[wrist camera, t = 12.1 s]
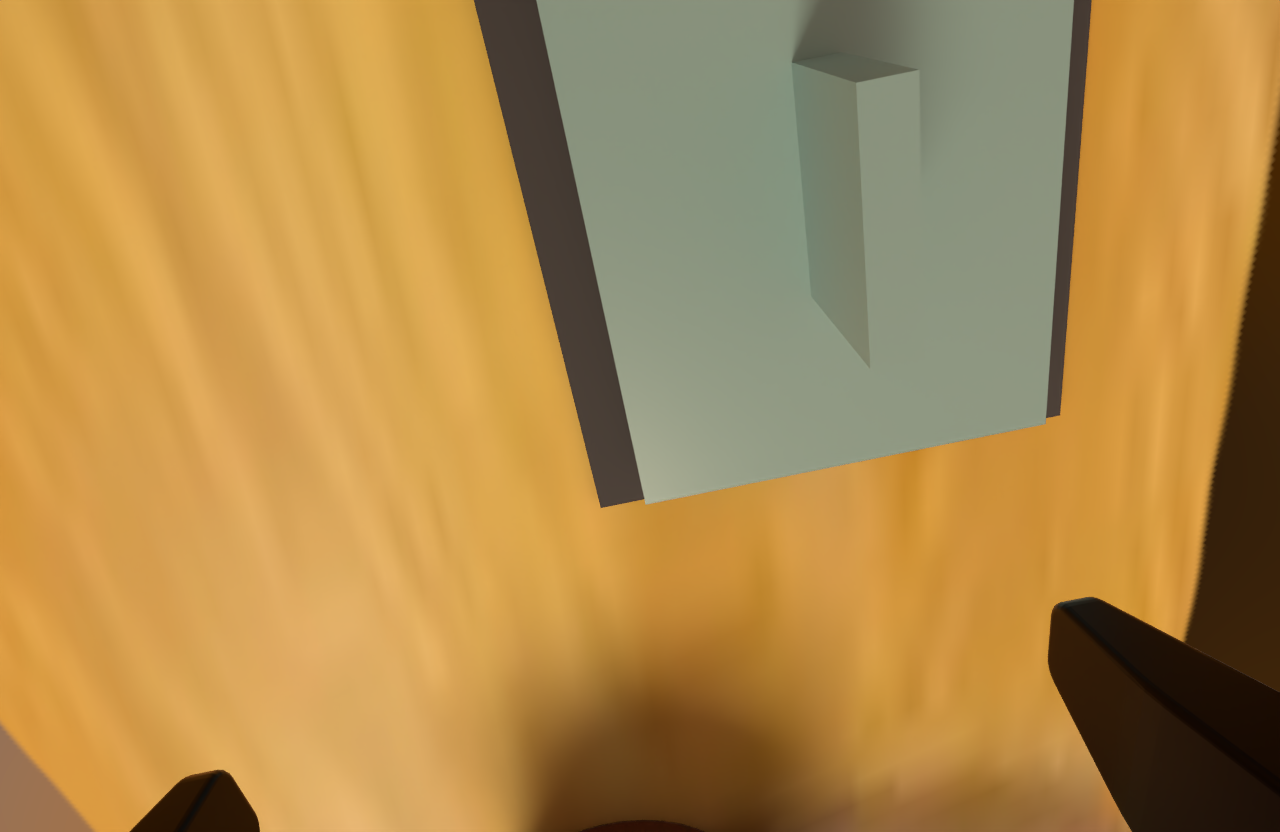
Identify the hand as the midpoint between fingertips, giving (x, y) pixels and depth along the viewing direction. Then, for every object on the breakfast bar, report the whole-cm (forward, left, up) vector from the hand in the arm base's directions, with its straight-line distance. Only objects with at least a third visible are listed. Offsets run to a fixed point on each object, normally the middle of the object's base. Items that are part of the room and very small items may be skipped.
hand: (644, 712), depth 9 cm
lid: (+3, +5, -13) cm, 14 cm away
